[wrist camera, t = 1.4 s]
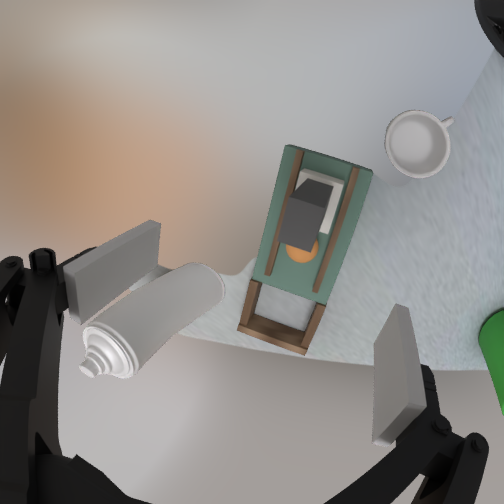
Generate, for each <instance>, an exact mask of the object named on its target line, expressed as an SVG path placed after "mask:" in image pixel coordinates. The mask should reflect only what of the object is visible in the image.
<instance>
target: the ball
mask: <svg viewBox="0 0 504 504" xmlns="http://www.w3.org/2000/svg"><path fill="white" fill-rule="evenodd" d="M318 248H319V245H318V241H317V239H316V241H315V243H314V246H313V248H312V251H311V253H310V252H307V251H304V250H301V249H298V248H295V247H293V246H290V245H287V244H286V251H287V253H288V255H289V257H290V258H291V259H292V260H294V261H296V262H299V263H306V262H309V261H311V260H312V259H313V258H314V257H315V256H316V254H317V252H318Z"/></svg>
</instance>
